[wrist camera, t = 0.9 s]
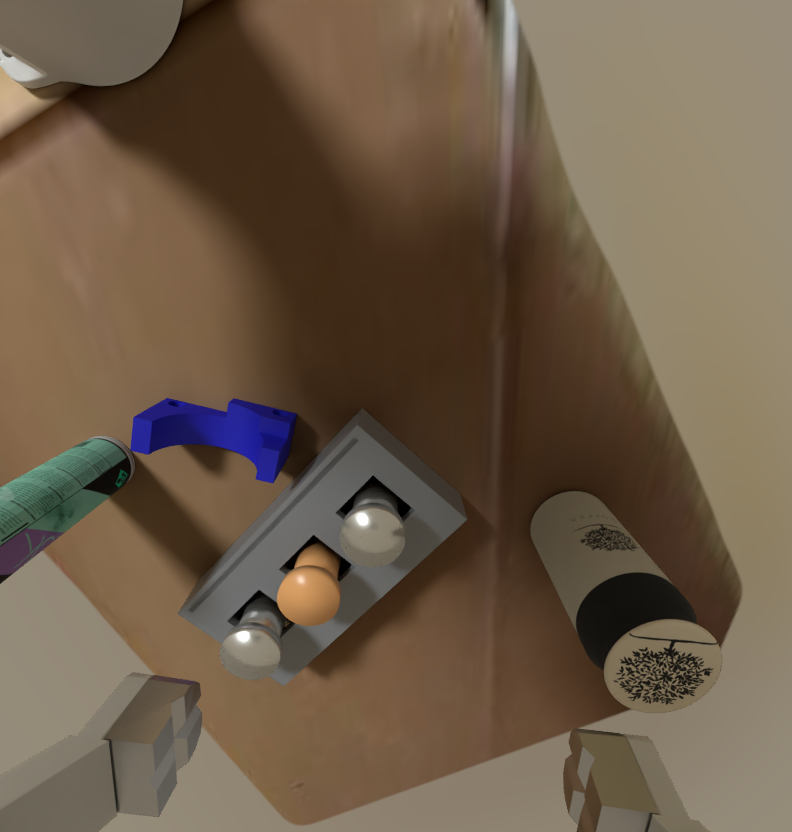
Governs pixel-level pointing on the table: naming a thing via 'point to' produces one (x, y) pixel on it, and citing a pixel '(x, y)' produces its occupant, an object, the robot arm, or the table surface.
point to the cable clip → (219, 431)
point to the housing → (327, 539)
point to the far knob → (255, 640)
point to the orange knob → (311, 586)
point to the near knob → (373, 527)
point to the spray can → (58, 497)
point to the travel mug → (624, 607)
